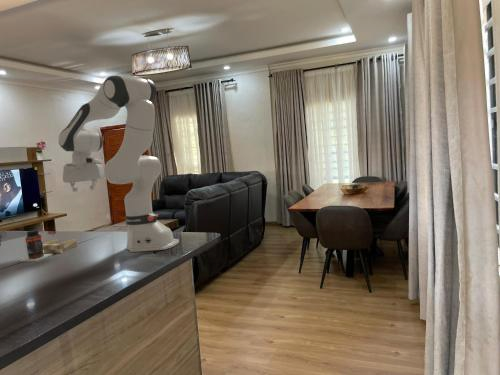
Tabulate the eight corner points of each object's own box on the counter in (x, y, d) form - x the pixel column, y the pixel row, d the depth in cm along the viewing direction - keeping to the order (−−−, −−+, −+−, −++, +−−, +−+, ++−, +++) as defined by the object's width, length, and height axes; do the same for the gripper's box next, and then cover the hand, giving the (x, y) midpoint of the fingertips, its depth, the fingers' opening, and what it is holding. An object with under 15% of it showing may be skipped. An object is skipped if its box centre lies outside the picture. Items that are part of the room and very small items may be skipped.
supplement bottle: (47, 254, 167) (43, 228, 165) (38, 258, 161) (34, 232, 159) (34, 255, 167) (30, 229, 166) (25, 259, 161) (21, 232, 160)
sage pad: (52, 254, 167) (52, 253, 167) (36, 261, 158) (36, 260, 158) (35, 255, 169) (35, 253, 169) (19, 261, 161) (18, 260, 161)
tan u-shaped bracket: (76, 246, 179) (75, 238, 179) (60, 252, 169) (59, 245, 169) (54, 246, 182) (53, 239, 182) (37, 253, 172) (36, 245, 172)
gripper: (59, 163, 184) (60, 192, 183) (97, 158, 180) (98, 188, 179) (67, 164, 190) (69, 192, 189) (105, 160, 186) (106, 188, 185)
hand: (83, 190), depth 184 cm, fingers open, 8 cm apart
